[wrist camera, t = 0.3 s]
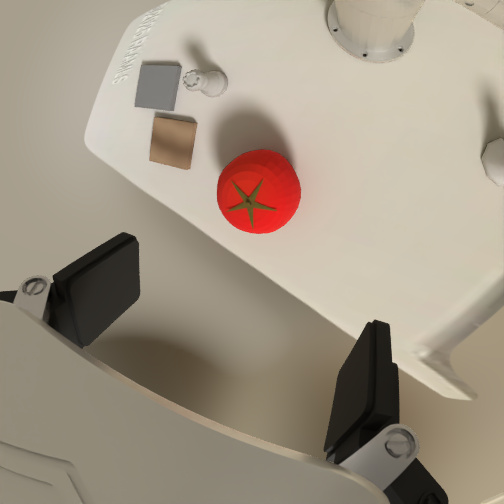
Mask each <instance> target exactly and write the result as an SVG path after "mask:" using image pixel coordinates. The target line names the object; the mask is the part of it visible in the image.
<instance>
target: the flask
mask: <svg viewBox="0 0 504 504" xmlns="http://www.w3.org/2000/svg"><path fill="white" fill-rule="evenodd" d="M481 160H482V163H483V166H484V169H485V172H486V175H487V177H488V178H490V179H491V180H492V181H493V182H494V183H496V184H497V185H498V186H501V185H504V140H503V139H502V138H498V139H496V140H494V141H492V142H490V143H488V144H487V147H486V149H485V151H484V154H483V156H482V158H481Z"/></svg>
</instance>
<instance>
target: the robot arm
mask: <svg viewBox="0 0 504 504" xmlns="http://www.w3.org/2000/svg"><path fill="white" fill-rule="evenodd" d="M424 1H425V0H334V1H333V2H332V4H331V5H330V8H329V11H328V17H327V20H328V26H329V30H330V32H331V34H332V36H333V38H334V39H335V41H336V42H337V44H338V45H339V46H340V47H341V48H342V49H343V50H345V51H346V52H348V53H349V54H351V55H352V56H354V57H356V58H359V59H361V60H364V61H368V62H374V63H384V62H390V61H393V60H396V59H398V58H400V57H401V56H403V55H404V54H405V53H406V52H407V51H408V50H409V48H410V47H411V45H412V42H413V39H414V26H413V22H412V21H413V20H414V18H415V16H416V15H417V13H418V11H419V10H420V8H421V6H422V5H423V3H424ZM453 1H455V2H456V3H458V4H460V5H462V6H464V7H465V8H467V9H469V10H471V11H472V12H474V13H476V14H478V15H479V16H481V17H482V18H484V19H486V20H487V21H489V22H491V23H492V24H494V25H496V26H497V27H499V28H501V29H503V30H504V0H453ZM334 30H337V32H334ZM399 49H401V50H402V51H401V52H400V51H399ZM363 54H365V55H366V57H364V56H363ZM53 280H54V282H53V283H50V280H49V279H48V278H47V277H44V276H39V275H37V276H32V277H29V278H27V279H26V280H24V281H23V282H22V283H21V285H20V286H19V289H18V290H17V291H3V292H0V504H448V497H447V495H446V493H445V491H444V490H443V489H442V488H441V486H440V485H439V484H438V483H437V482H436V480H435V479H434V478H433V477H432V476H431V475H430V473H429V472H428V471H427V470H426V469H425V468H424V466H423V465H422V464H421V463H420V461H419V460H418V459H417V458H416V456H417V454H418V452H419V448H420V447H419V440H418V437H417V435H416V434H415V433H414V431H413V430H412V429H410V428H409V427H407V426H405V425H403V424H399V380H398V379H399V377H398V366H397V364H396V363H393V362H392V351H391V336H390V325H389V324H388V323H385V322H381V321H378V320H374V321H373V322H372V323H371V322H368V323H367V324H366V326H365V328H364V330H363V331H362V333H361V335H360V337H359V339H358V340H357V342H356V344H355V346H354V348H353V349H352V351H351V353H350V354H349V356H348V358H347V359H346V361H345V363H344V364H343V366H342V367H341V369H340V371H339V374H338V378H337V383H336V389H335V395H334V401H333V407H332V412H331V416H330V422H329V426H328V431H327V436H326V441H325V445H324V452H327V457H326V460H323V459H320V458H316V457H313V456H310V455H307V454H304V453H301V452H297V451H294V450H291V449H287V448H284V447H281V446H278V445H275V444H272V443H269V442H266V441H264V440H261V439H258V438H255V437H253V436H250V435H247V434H244V433H242V432H239V431H236V430H234V429H231V428H228V427H226V426H224V425H221V424H219V423H217V422H214V421H212V420H209V419H207V418H205V417H203V416H200V415H198V414H196V413H194V412H192V411H189V410H187V409H185V408H183V407H181V406H179V405H177V404H175V403H173V402H171V401H169V400H167V399H165V398H163V397H161V396H159V395H157V394H155V393H153V392H152V391H149V390H148V389H146V388H144V387H142V386H141V385H139V384H137V383H135V382H133V381H132V380H130V379H128V378H127V377H125V376H123V375H122V374H120V373H118V372H117V371H115V370H113V369H111V368H110V367H108V366H107V365H105V364H104V363H102V362H101V361H99V360H97V359H96V358H94V357H93V356H91V355H90V354H88V353H87V352H85V351H84V350H82V348H83V347H84V346H88V345H90V344H91V343H92V342H93V341H94V340H95V339H96V338H97V337H98V336H99V335H100V334H101V333H102V332H103V331H104V330H106V329H107V328H108V327H109V326H110V325H111V324H112V323H113V322H114V321H115V320H116V319H117V318H118V317H119V316H120V315H122V314H123V313H124V312H125V311H126V310H127V309H128V308H129V307H130V306H131V305H132V304H134V303H135V302H136V301H137V300H138V298H139V296H140V276H139V243H138V241H137V239H136V237H135V236H133V235H131V234H128V233H125V232H122V233H120V234H118V235H117V236H115V237H113V238H112V239H110V240H108V241H107V242H105V243H103V244H102V245H100V246H98V247H97V248H95V249H93V250H92V251H90V252H89V253H87V254H85V255H84V256H82V257H81V258H79V259H77V260H76V261H74V262H73V263H71V264H70V265H68V266H66V267H65V268H63V269H62V270H60V271H59V272H58V273H56V274H54V275H53ZM329 461H331V462H334V463H331V462H329Z"/></svg>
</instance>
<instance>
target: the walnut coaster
mask: <svg viewBox="0 0 504 504" xmlns="http://www.w3.org/2000/svg"><path fill="white" fill-rule="evenodd" d="M196 128H197V123H193V122H187V121H181V120H175V119H168V118H162V117H155V118H154V125H153V133H152V141H151V150H150V159H149V161H153V162H157V163H161V164H165V165H169V166H173V167H177V168H181V169H185V170H188V169H190V166H191V159H192V153H193V146H194V140H195V134H196Z"/></svg>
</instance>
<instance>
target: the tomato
mask: <svg viewBox="0 0 504 504" xmlns="http://www.w3.org/2000/svg"><path fill="white" fill-rule="evenodd" d="M300 198H301V187H300V183H299V180H298V177H297V175H296V173H295V171H294V169H293V168H292V166H291V165H290V163H289V162H288V161H287V160H286V159H285V158H284V157H283V156H281V155H280V154H279V153H276V152H274V151H271V150H263V149H261V150H255V151H250V152H247V153H244V154H242V155H240V156H238V157H237V158H235V159H234V160H233V161H232V162H230V163H229V164H228V165H227V166H226V167H225V169H224V170H223V171H222V173H221V175H220V176H219V180H218V184H217V202H218V205H219V208H220V210H221V212H222V214H223V215H224V217H225V218H226V219H227V220H228V221H229V222H230V223H231V224H232V225H233V226H234V227H236V228H238V229H240V230H242V231H245V232H249V233H256V234H261V233H270V232H274V231H276V230H277V229H279V228H281V227H282V226H284V225H285V224H286V223H287V222H288V221H289V220H290V219H291V218H292V216H293V215H294V213H295V212H296V210H297V208H298V206H299V202H300Z"/></svg>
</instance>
